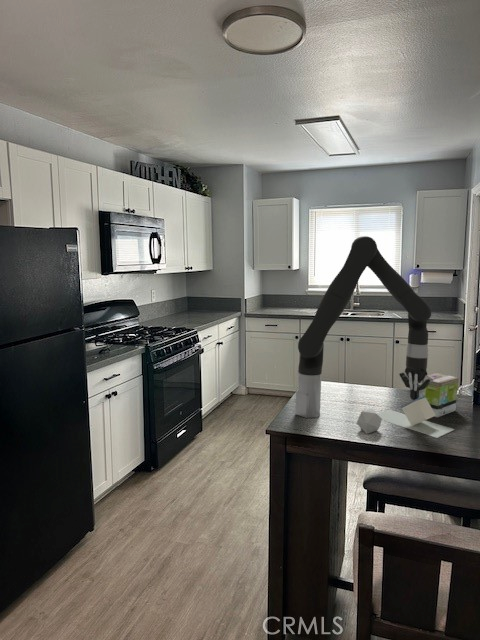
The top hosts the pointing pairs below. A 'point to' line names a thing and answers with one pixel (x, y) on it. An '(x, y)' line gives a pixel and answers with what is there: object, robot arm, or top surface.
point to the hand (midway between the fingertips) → (414, 399)
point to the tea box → (441, 393)
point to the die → (369, 421)
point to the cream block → (418, 411)
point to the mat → (422, 427)
